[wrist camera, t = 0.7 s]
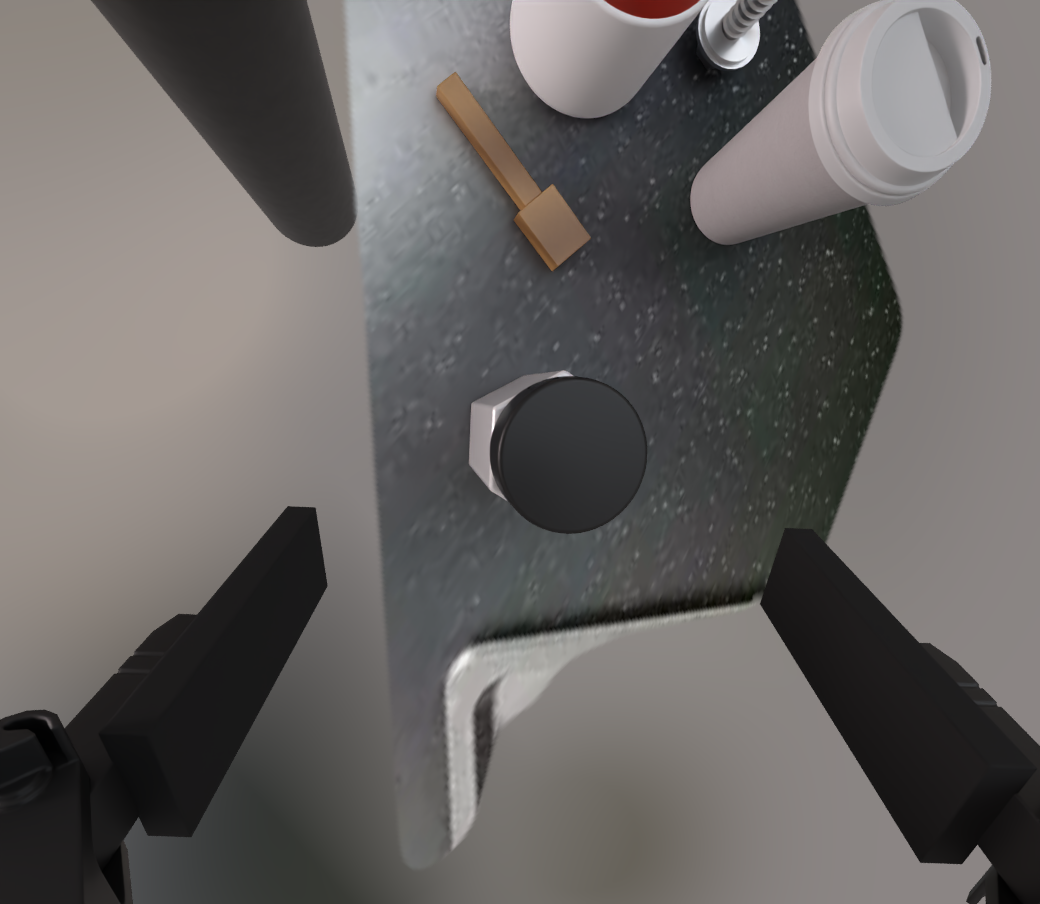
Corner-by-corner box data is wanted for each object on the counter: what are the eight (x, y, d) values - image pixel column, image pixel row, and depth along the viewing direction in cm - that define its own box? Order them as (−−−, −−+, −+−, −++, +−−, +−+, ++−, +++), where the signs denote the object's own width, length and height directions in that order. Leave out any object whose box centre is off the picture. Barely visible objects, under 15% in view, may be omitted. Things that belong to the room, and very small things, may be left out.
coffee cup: (784, 258, 39) (1004, 183, 25) (678, 272, 38) (849, 198, 23) (776, 131, 38) (1005, -29, 23) (665, 138, 36) (839, -32, 21)
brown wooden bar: (426, 103, 32) (427, 90, 31) (463, 74, 32) (465, 60, 31) (551, 271, 35) (558, 266, 34) (584, 244, 36) (591, 237, 34)
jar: (597, 421, 38) (683, 435, 26) (541, 510, 37) (602, 565, 26) (501, 355, 35) (548, 338, 24) (441, 450, 35) (458, 480, 24)
